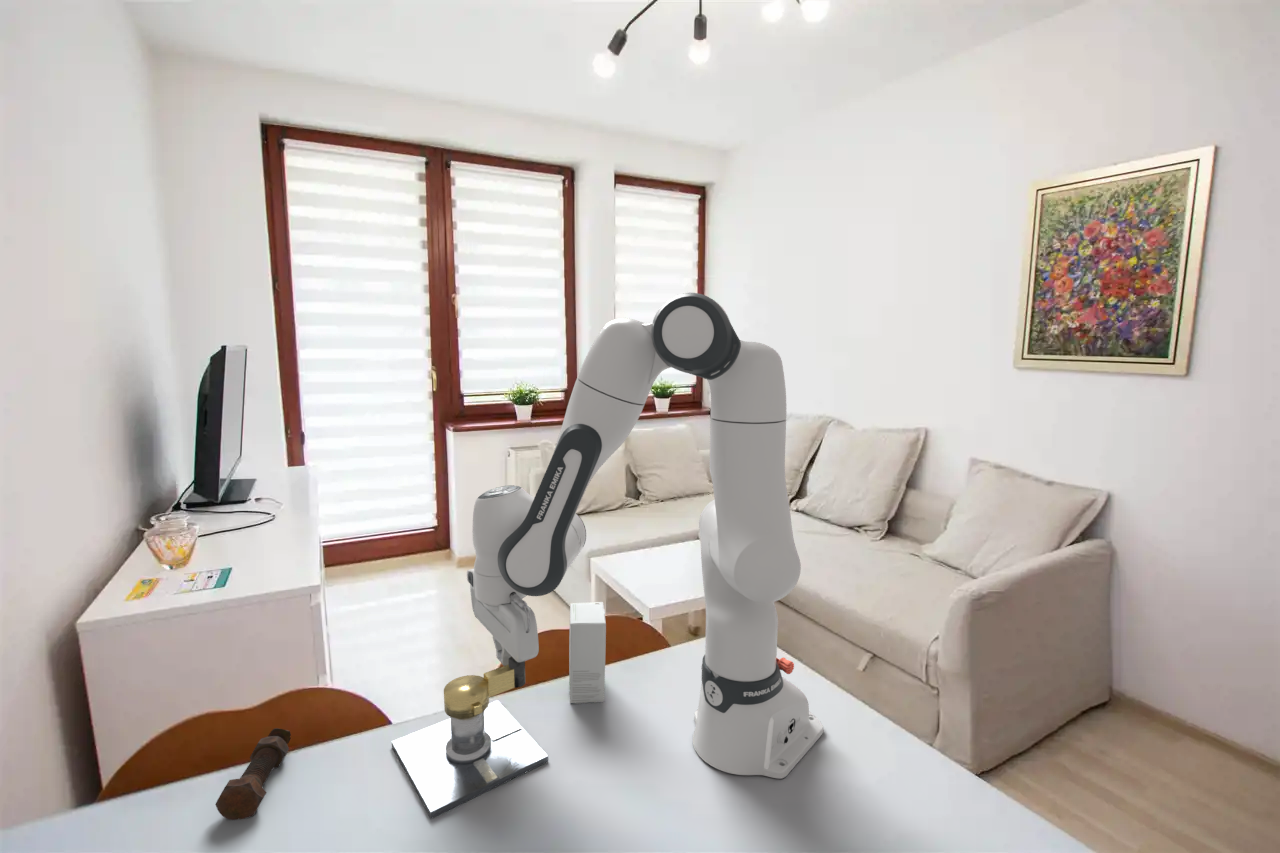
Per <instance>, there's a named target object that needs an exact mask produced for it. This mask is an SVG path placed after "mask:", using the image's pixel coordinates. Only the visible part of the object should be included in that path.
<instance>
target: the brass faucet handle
mask: <svg viewBox="0 0 1280 853" xmlns="http://www.w3.org/2000/svg"><path fill="white" fill-rule="evenodd" d="M508 661H509V664H508V665H506V666H503V665H502V666H500V667H498V668H495V669H492V670H489V671H487V672H484V673H483V676H480V675H475V674H469V675H463V676H459V677H457V678H454V679H452V680H451V681H450V680H449V682H448V683H447V684H446V685H445V686H444V688H443V700H444V701H443V702H444V704H443V705H444V712H445V714H446V715H447V716H448V717H449V718H450V717H452V718H457V719H465V718H471V717H474V716H477V715H479V714H481V713H482V712H483V711H485V710H486V709H487V707H488V705H489V703H490V698H492V697H494V696H497V695H499V694H501V693H504V692H507V691H510V690H512V689H517V688H522V687H524V685H525V684H526V661H523V662H517V661H516V660H515V659H514V658H513V657H512V656H511V657H510V658H509V660H508Z"/></svg>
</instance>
